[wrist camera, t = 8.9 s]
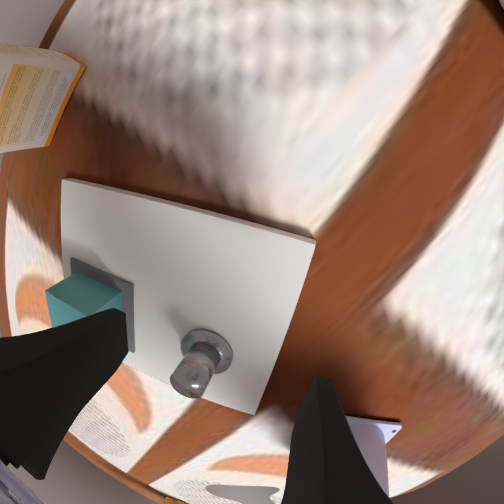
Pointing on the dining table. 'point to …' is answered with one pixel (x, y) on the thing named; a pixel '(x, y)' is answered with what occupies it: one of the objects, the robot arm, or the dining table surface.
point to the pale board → (191, 280)
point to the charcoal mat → (117, 284)
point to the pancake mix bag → (173, 501)
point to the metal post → (200, 361)
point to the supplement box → (33, 94)
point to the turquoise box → (80, 299)
